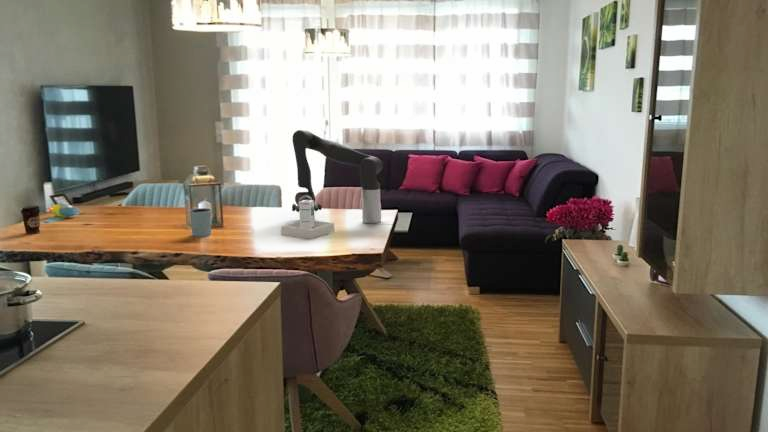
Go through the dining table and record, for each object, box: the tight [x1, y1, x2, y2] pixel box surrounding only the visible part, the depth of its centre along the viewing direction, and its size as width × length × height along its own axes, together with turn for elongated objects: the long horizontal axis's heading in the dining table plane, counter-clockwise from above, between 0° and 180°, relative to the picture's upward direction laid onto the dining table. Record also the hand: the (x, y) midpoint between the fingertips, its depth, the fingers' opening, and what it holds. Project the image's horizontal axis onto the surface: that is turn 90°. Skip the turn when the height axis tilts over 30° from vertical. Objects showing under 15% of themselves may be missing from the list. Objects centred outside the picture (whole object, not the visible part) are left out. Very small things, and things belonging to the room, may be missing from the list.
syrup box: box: [298, 200, 316, 230], centre depth 308 cm, size 6×6×14 cm
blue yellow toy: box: [40, 202, 82, 224], centre depth 352 cm, size 28×9×15 cm
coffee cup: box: [20, 205, 41, 235], centre depth 314 cm, size 9×8×13 cm
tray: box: [280, 220, 335, 239], centre depth 309 cm, size 18×18×4 cm
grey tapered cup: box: [188, 207, 212, 238], centre depth 306 cm, size 10×10×12 cm
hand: (307, 209), depth 311 cm, fingers open, 8 cm apart
